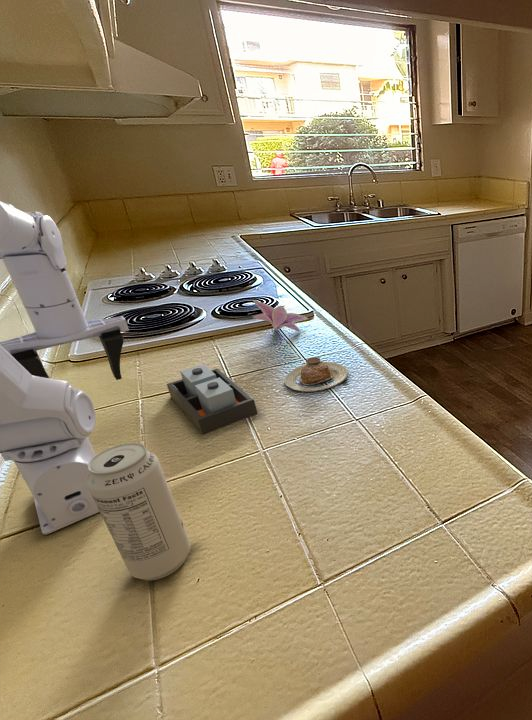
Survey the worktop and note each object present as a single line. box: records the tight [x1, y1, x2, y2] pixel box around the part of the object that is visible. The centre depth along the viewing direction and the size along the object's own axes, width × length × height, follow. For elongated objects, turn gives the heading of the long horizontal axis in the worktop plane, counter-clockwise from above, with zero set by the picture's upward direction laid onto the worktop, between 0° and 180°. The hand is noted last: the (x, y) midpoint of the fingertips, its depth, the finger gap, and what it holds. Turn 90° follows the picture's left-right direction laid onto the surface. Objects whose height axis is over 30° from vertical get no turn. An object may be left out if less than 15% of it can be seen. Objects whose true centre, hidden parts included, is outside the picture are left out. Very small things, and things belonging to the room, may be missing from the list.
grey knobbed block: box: [195, 378, 236, 415], centre depth 79 cm, size 6×4×6 cm, turn 46°
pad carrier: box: [166, 367, 258, 436], centre depth 82 cm, size 17×9×3 cm, turn 46°
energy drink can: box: [86, 442, 191, 582], centre depth 50 cm, size 6×6×15 cm
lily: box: [252, 300, 309, 343], centre depth 109 cm, size 12×12×10 cm
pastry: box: [283, 356, 349, 393], centre depth 91 cm, size 12×12×5 cm
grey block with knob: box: [179, 363, 217, 397], centre depth 84 cm, size 6×4×6 cm, turn 46°
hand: (87, 385), depth 71 cm, fingers open, 7 cm apart
